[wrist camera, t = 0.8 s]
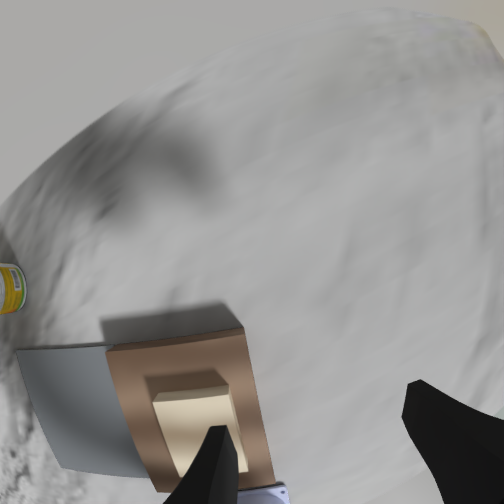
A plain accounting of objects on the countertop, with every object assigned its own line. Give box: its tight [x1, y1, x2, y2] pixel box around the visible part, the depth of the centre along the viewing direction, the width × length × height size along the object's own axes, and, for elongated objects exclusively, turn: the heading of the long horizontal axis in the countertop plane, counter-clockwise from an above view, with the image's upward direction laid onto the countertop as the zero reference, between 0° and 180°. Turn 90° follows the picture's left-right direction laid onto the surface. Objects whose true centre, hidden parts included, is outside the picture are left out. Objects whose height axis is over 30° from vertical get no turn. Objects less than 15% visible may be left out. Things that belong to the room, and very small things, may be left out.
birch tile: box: [152, 385, 248, 477], centre depth 20 cm, size 8×6×2 cm
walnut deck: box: [105, 327, 276, 493], centre depth 23 cm, size 16×12×3 cm
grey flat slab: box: [16, 345, 150, 478], centre depth 23 cm, size 16×14×1 cm
